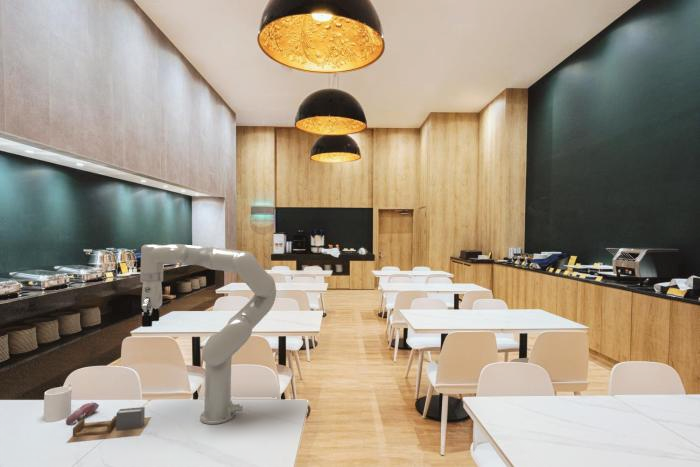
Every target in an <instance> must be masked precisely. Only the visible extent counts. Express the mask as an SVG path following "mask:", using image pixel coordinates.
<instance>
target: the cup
mask: <svg viewBox="0 0 700 467" xmlns="http://www.w3.org/2000/svg"><path fill="white" fill-rule="evenodd" d="M72 391H73V390H72V384H71V383H70V384H69V383H68V384H66V385H64V386H59V387H52V388H50V389H48V390H46V391H45V392H44V396H43V398H44V399H43V422H46V423H55V422H59V421H62V420H66V419H67V418H68V417H69V416H71V415H72Z"/></svg>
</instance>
